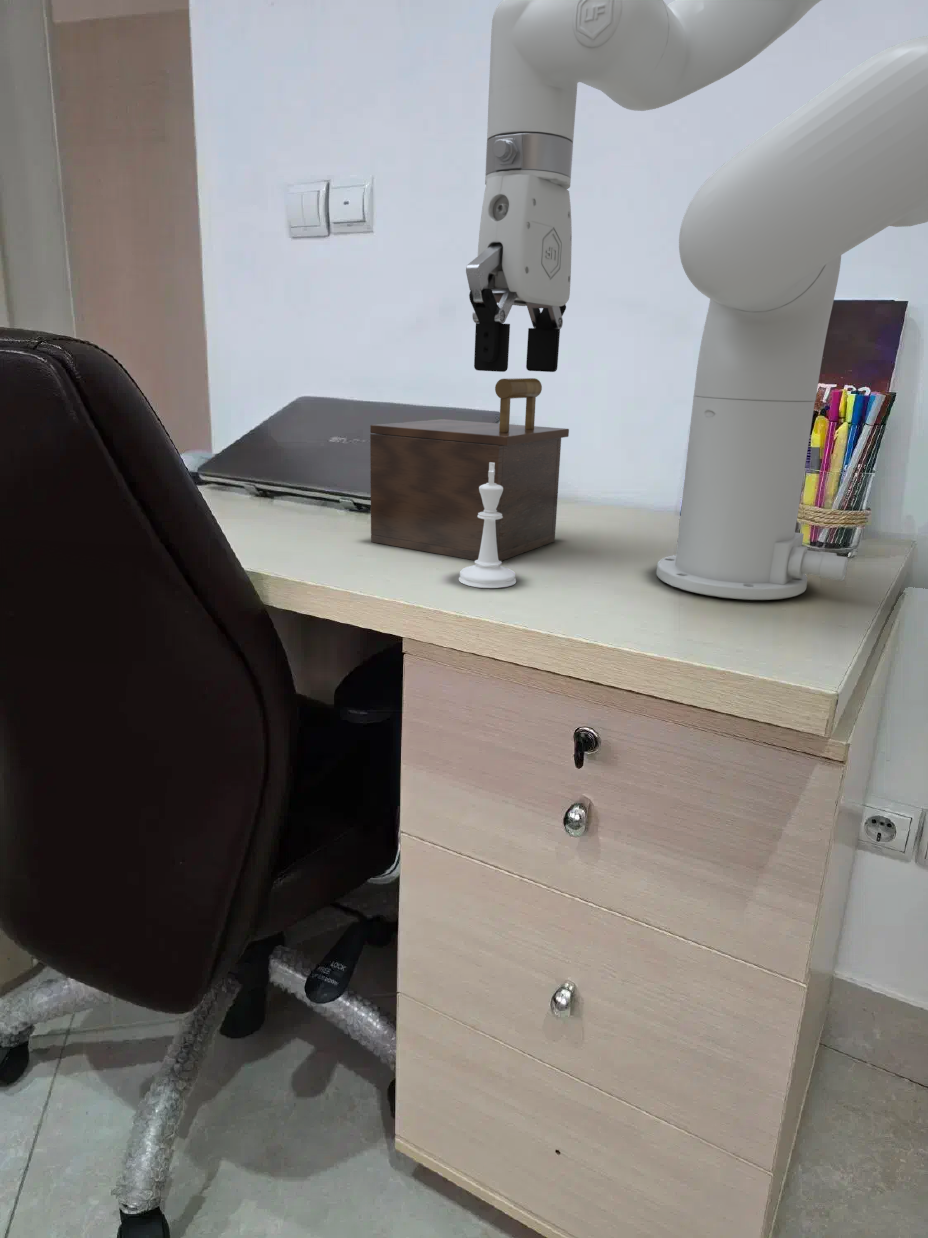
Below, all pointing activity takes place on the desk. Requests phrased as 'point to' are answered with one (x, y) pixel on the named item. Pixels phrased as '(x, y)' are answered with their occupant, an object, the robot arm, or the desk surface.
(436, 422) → the lid
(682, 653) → the desk surface
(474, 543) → the box
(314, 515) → the desk surface
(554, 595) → the desk surface
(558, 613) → the desk surface
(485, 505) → the chess piece
